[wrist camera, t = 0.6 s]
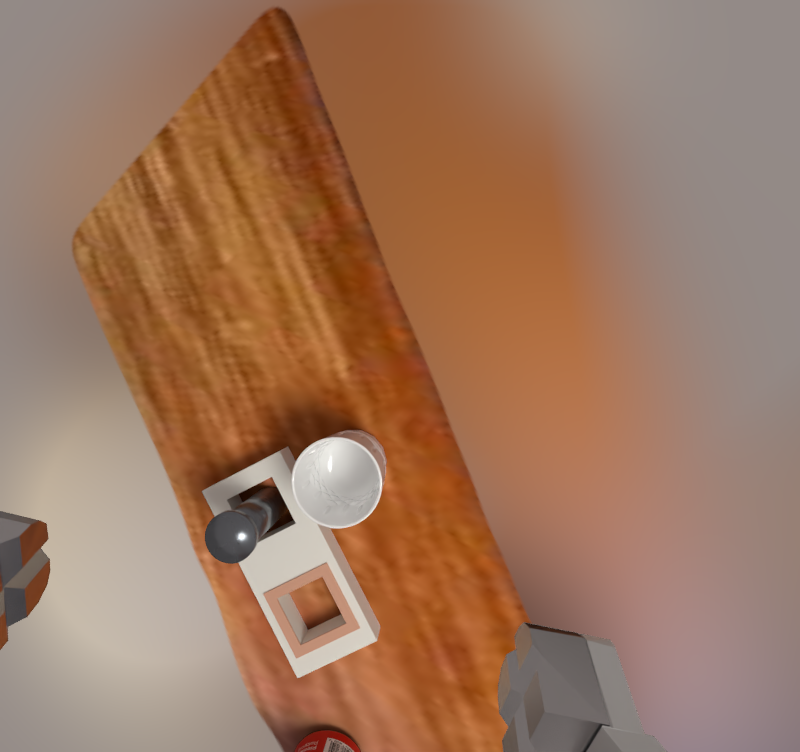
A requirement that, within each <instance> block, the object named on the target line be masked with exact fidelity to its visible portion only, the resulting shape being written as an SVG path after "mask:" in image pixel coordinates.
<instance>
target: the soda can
mask: <svg viewBox="0 0 800 752" xmlns="http://www.w3.org/2000/svg"><path fill="white" fill-rule="evenodd" d="M294 752H361V751H360V749H359V748H358V746H357V745H356V744H355V743H354V742H353V741H352V740H351V739H350V738H349V737H347V736H345V735H344V734H342V733H339V732H336V731H331V730H322V731H317V732H314V733H311V734H309V735H308V736H306V737H305V738H303V739H302V740H301V741H300V742H299V744H298V745H297V747H296V748H295V750H294Z"/></svg>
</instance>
